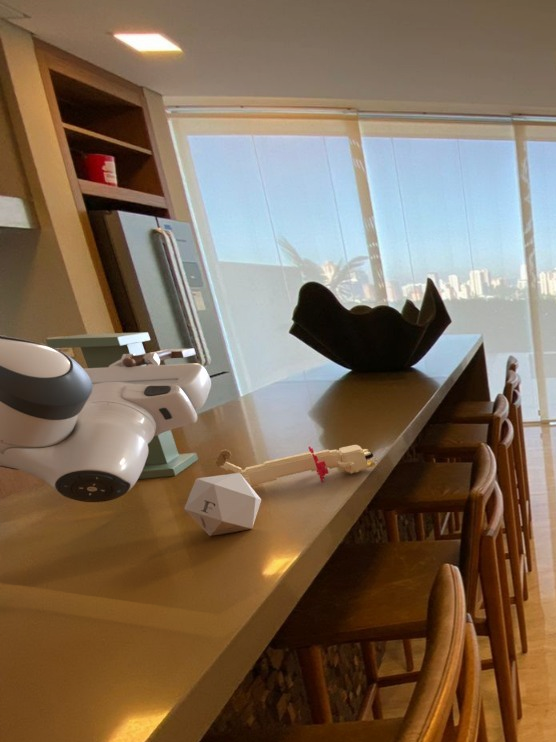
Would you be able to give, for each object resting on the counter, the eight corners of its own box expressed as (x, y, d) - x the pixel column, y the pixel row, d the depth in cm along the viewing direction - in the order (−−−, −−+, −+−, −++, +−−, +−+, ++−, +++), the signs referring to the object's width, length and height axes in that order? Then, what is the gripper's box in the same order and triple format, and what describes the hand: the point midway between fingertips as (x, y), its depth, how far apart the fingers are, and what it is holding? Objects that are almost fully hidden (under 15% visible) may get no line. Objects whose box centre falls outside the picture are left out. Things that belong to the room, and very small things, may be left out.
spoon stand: (95, 485, 104) (37, 339, 95) (130, 465, 116) (81, 333, 107) (172, 478, 108) (124, 336, 98) (198, 459, 120) (157, 331, 110)
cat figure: (229, 508, 96) (383, 470, 108) (209, 459, 92) (370, 425, 104) (229, 492, 103) (372, 458, 116) (210, 446, 100) (360, 416, 112)
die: (186, 536, 84) (159, 498, 76) (225, 491, 89) (204, 451, 81) (244, 554, 85) (224, 519, 77) (279, 508, 90) (263, 471, 82)
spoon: (145, 367, 89) (141, 357, 89) (111, 369, 88) (107, 358, 88) (196, 354, 108) (193, 346, 108) (168, 355, 107) (166, 347, 106)
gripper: (49, 433, 85) (76, 376, 93) (208, 422, 91) (221, 369, 99) (20, 400, 80) (51, 343, 88) (190, 390, 86) (205, 337, 94)
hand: (142, 356), depth 93 cm, fingers closed on spoon, 1 cm apart
